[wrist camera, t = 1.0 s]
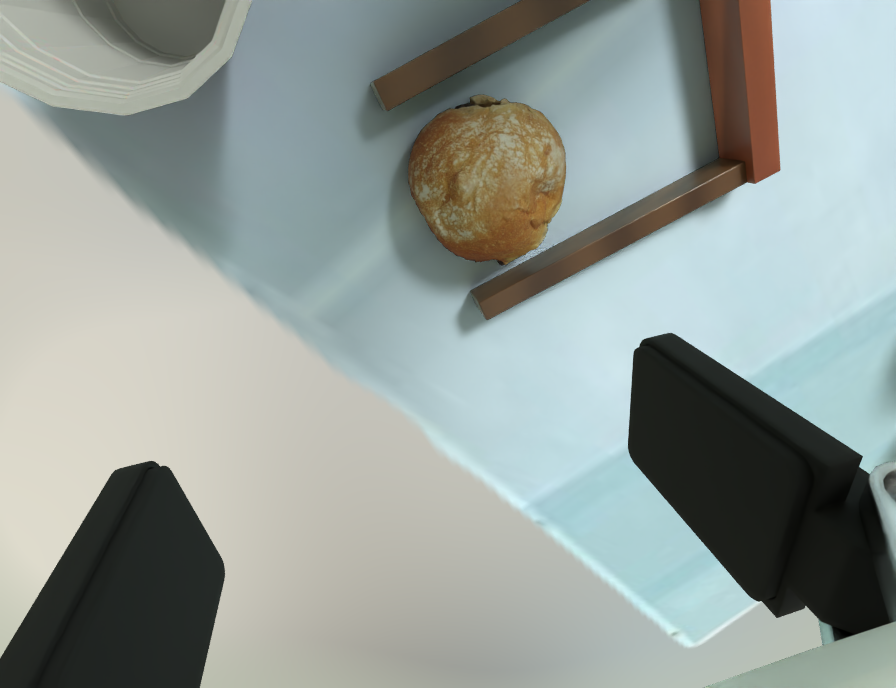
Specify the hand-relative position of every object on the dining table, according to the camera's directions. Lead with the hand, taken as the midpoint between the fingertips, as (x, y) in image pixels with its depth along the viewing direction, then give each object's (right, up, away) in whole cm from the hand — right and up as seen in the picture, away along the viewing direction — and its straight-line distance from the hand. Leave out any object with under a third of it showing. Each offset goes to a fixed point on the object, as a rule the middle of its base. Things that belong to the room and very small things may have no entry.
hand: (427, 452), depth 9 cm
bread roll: (+3, +13, +22) cm, 26 cm away
